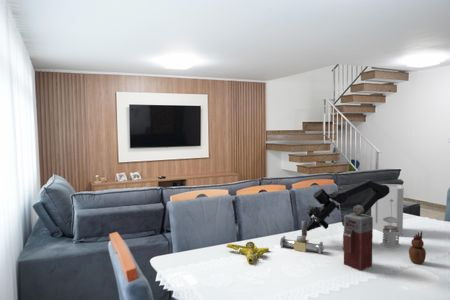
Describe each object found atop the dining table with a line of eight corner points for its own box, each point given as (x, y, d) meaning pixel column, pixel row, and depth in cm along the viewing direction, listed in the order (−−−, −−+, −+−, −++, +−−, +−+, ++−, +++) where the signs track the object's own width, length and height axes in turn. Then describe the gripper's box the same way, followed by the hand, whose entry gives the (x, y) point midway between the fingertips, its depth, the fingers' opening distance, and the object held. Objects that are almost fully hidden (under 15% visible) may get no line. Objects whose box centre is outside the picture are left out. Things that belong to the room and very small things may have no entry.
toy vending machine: (340, 265, 153) (340, 205, 152) (355, 260, 160) (356, 202, 158) (357, 272, 146) (358, 209, 144) (372, 266, 152) (373, 205, 150)
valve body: (323, 250, 172) (323, 241, 172) (321, 254, 167) (321, 245, 166) (283, 244, 183) (283, 235, 182) (279, 247, 177) (279, 238, 177)
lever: (304, 242, 171) (304, 226, 171) (296, 241, 173) (296, 225, 173) (308, 236, 181) (308, 221, 180) (300, 235, 183) (300, 220, 182)
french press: (381, 246, 177) (382, 200, 176) (379, 240, 188) (380, 196, 187) (401, 249, 174) (402, 201, 172) (399, 242, 184) (400, 197, 183)
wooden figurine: (423, 261, 157) (424, 230, 156) (426, 266, 152) (427, 233, 151) (407, 259, 159) (408, 228, 159) (410, 264, 154) (410, 232, 153)
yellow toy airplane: (271, 264, 155) (269, 248, 175) (270, 251, 155) (267, 236, 174) (224, 268, 157) (227, 251, 177) (223, 254, 156) (226, 239, 176)
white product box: (414, 233, 200) (415, 187, 199) (397, 236, 194) (398, 189, 192) (386, 225, 217) (387, 182, 216) (370, 228, 211) (371, 184, 210)
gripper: (310, 196, 190) (291, 216, 190) (322, 203, 172) (302, 225, 171) (323, 209, 191) (304, 229, 191) (337, 218, 173) (316, 239, 172)
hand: (306, 230), depth 181 cm, fingers closed, pressing on lever
